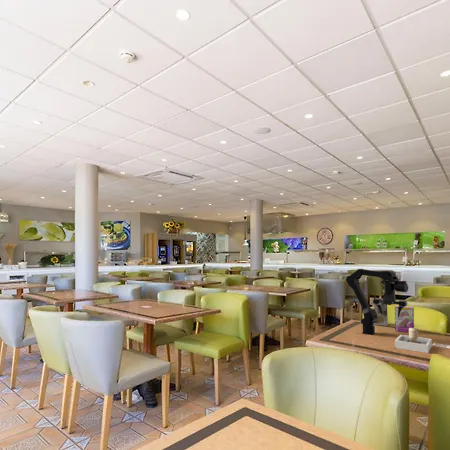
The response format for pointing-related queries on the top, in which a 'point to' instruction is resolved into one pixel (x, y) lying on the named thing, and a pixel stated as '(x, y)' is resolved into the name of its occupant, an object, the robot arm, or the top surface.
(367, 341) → the top surface
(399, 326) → the candy bar box
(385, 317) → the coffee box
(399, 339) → the bore box
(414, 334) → the peg
